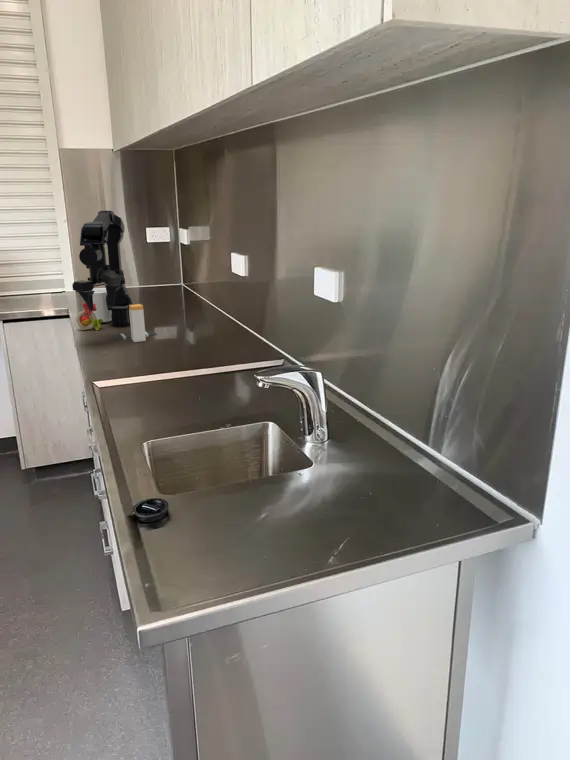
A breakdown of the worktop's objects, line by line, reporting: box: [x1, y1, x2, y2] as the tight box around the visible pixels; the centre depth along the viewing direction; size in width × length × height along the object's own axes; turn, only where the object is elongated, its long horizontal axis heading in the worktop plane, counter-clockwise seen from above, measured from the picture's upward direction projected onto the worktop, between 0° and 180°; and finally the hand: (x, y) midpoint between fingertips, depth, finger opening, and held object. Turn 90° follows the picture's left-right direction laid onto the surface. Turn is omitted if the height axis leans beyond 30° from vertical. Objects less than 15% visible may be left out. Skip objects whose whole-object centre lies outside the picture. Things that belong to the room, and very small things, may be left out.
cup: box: [92, 287, 112, 324], centre depth 234 cm, size 10×10×13 cm
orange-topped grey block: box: [129, 303, 147, 343], centre depth 204 cm, size 4×4×12 cm
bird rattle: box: [76, 302, 104, 331], centre depth 222 cm, size 6×11×9 cm
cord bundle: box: [113, 330, 158, 341], centre depth 212 cm, size 15×5×2 cm, turn 116°
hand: (102, 308), depth 203 cm, fingers open, 9 cm apart
